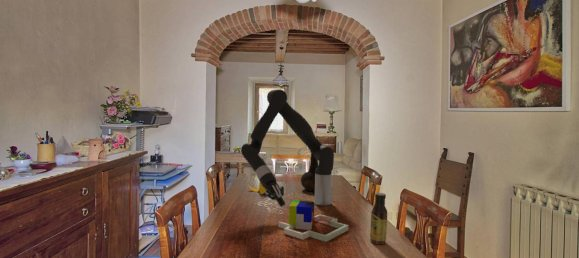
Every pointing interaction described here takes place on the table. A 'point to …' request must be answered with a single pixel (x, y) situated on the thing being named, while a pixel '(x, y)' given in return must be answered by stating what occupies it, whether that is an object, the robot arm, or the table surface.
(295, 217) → the puzzle toy
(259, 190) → the banana peel
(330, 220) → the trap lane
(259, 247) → the table surface
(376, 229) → the sauce bottle
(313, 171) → the glass bottle
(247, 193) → the table surface
